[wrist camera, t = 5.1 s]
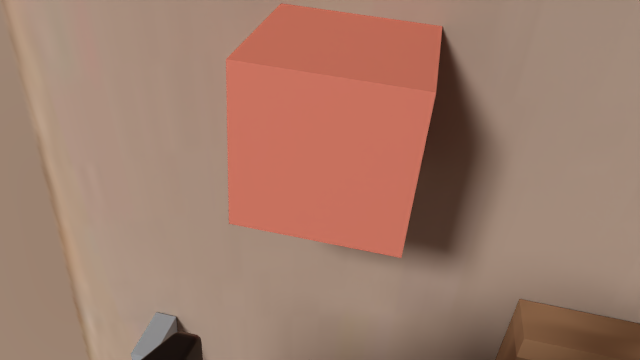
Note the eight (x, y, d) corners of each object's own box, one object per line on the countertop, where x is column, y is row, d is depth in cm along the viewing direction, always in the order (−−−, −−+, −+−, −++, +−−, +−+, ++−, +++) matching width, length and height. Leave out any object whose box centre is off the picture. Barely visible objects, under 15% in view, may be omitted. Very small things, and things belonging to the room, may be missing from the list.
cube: (442, 25, 17) (436, 92, 13) (414, 165, 19) (400, 257, 15) (281, 2, 17) (226, 59, 13) (276, 141, 20) (229, 223, 16)
